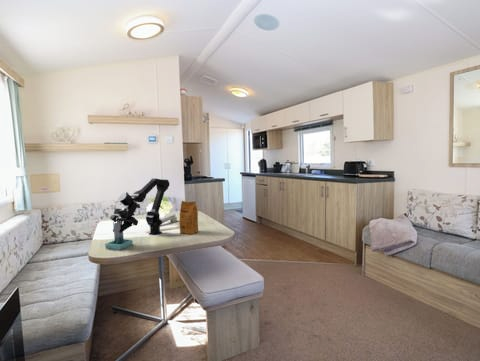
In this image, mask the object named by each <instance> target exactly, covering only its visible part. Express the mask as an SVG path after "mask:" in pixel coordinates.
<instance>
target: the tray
mask: <svg viewBox="0 0 480 361" xmlns="http://www.w3.org/2000/svg"><path fill="white" fill-rule="evenodd" d="M104 244H105V246H104V247H105V249H106V250H112V251H115V250H116V251H122V250H124V249H126V248H128V247H131V246H133V245H134V243H133V239H127V238H124V243H123V244H119V245H117V244H115V239H114V240H112V241H109V242H107V243H104Z"/></svg>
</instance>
